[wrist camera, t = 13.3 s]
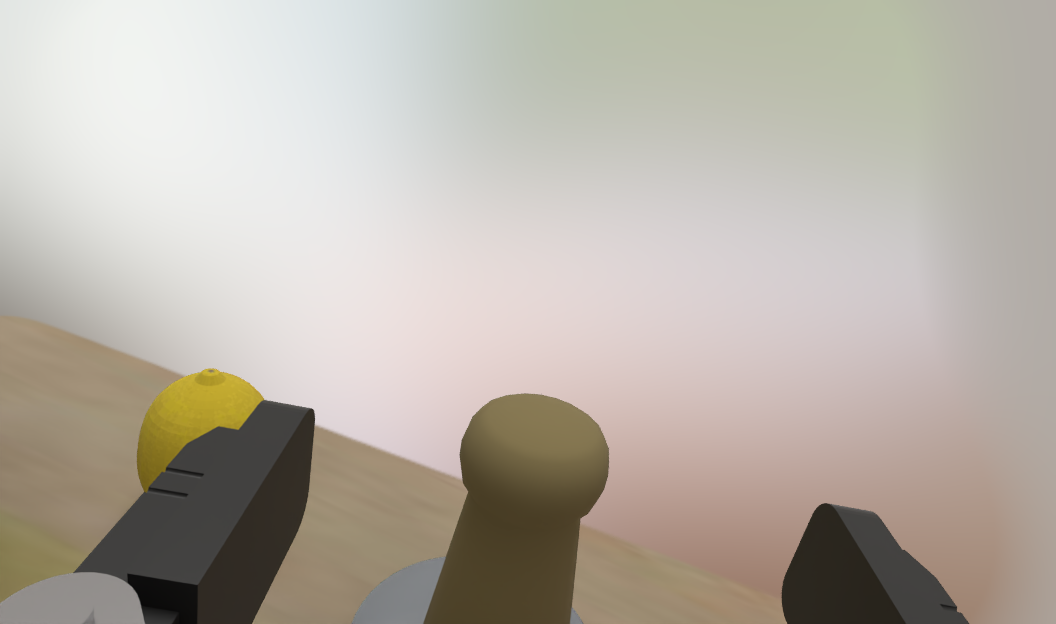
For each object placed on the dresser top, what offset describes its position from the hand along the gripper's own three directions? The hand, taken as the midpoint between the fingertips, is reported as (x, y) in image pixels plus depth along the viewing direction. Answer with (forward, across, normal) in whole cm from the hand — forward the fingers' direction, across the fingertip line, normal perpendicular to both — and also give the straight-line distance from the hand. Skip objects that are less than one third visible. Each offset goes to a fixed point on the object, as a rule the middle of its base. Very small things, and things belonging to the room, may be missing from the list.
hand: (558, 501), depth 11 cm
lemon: (+16, +13, +17) cm, 27 cm away
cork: (+11, -1, +16) cm, 19 cm away
